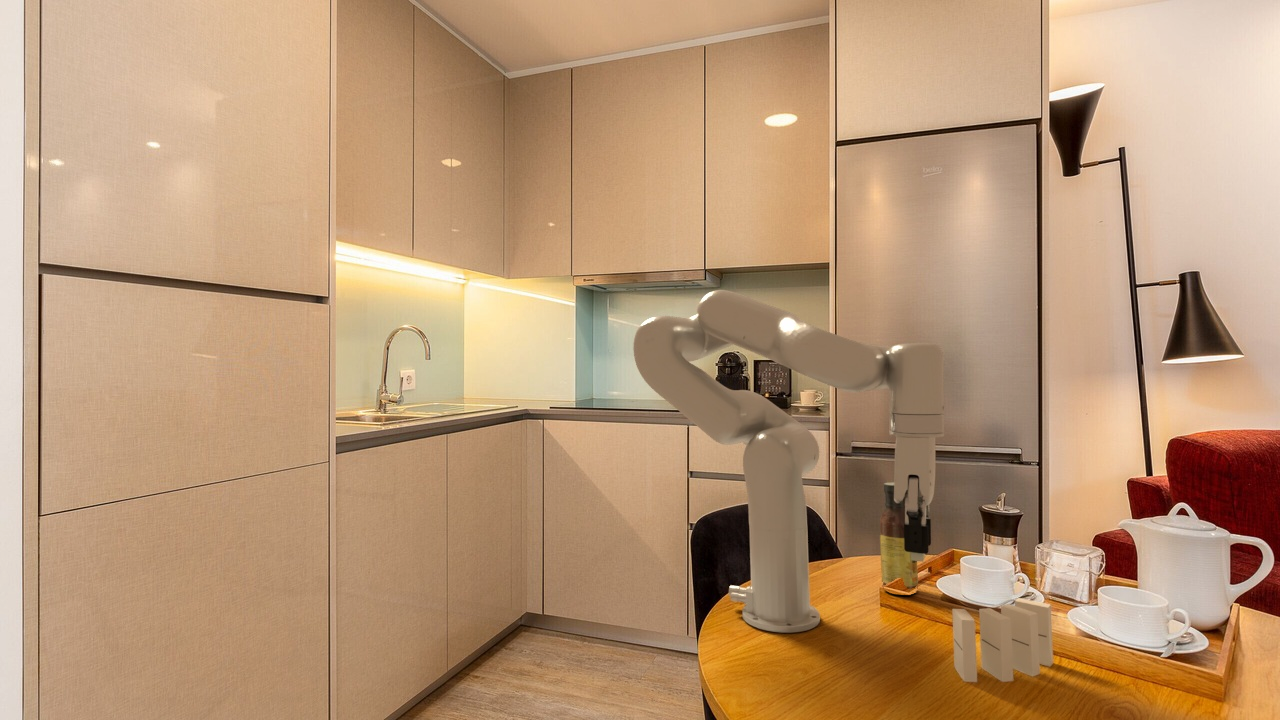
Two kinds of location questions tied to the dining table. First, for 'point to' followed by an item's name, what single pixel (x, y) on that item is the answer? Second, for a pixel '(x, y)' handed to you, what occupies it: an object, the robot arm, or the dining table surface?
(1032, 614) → the domino
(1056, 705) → the dining table surface
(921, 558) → the sage domino
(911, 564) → the sauce bottle
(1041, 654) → the domino
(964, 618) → the domino
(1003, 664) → the domino
